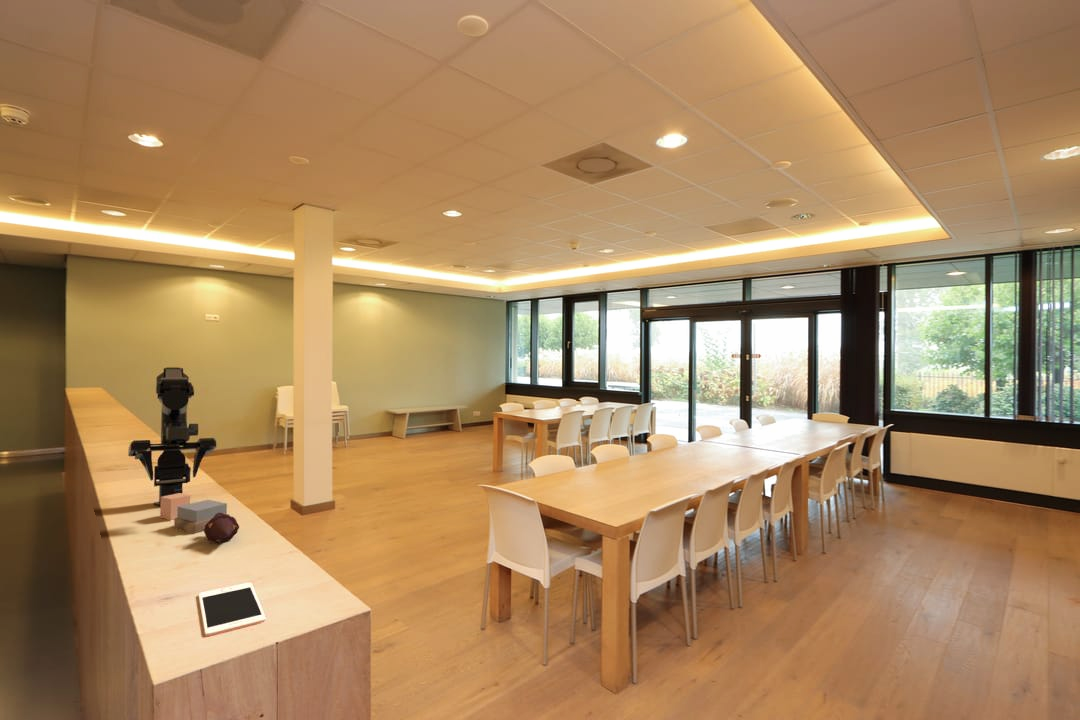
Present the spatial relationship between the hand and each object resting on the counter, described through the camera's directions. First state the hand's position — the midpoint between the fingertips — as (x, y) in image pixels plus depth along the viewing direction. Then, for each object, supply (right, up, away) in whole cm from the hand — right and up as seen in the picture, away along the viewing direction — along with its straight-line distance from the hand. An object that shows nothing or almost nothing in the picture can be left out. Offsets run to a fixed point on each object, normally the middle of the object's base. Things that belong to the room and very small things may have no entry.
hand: (173, 478), depth 135 cm
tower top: (+6, -11, +2) cm, 12 cm away
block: (-6, -13, +9) cm, 17 cm away
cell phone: (+40, -14, -42) cm, 60 cm away
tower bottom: (+6, -14, +2) cm, 15 cm away
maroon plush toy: (+18, -14, -9) cm, 24 cm away
